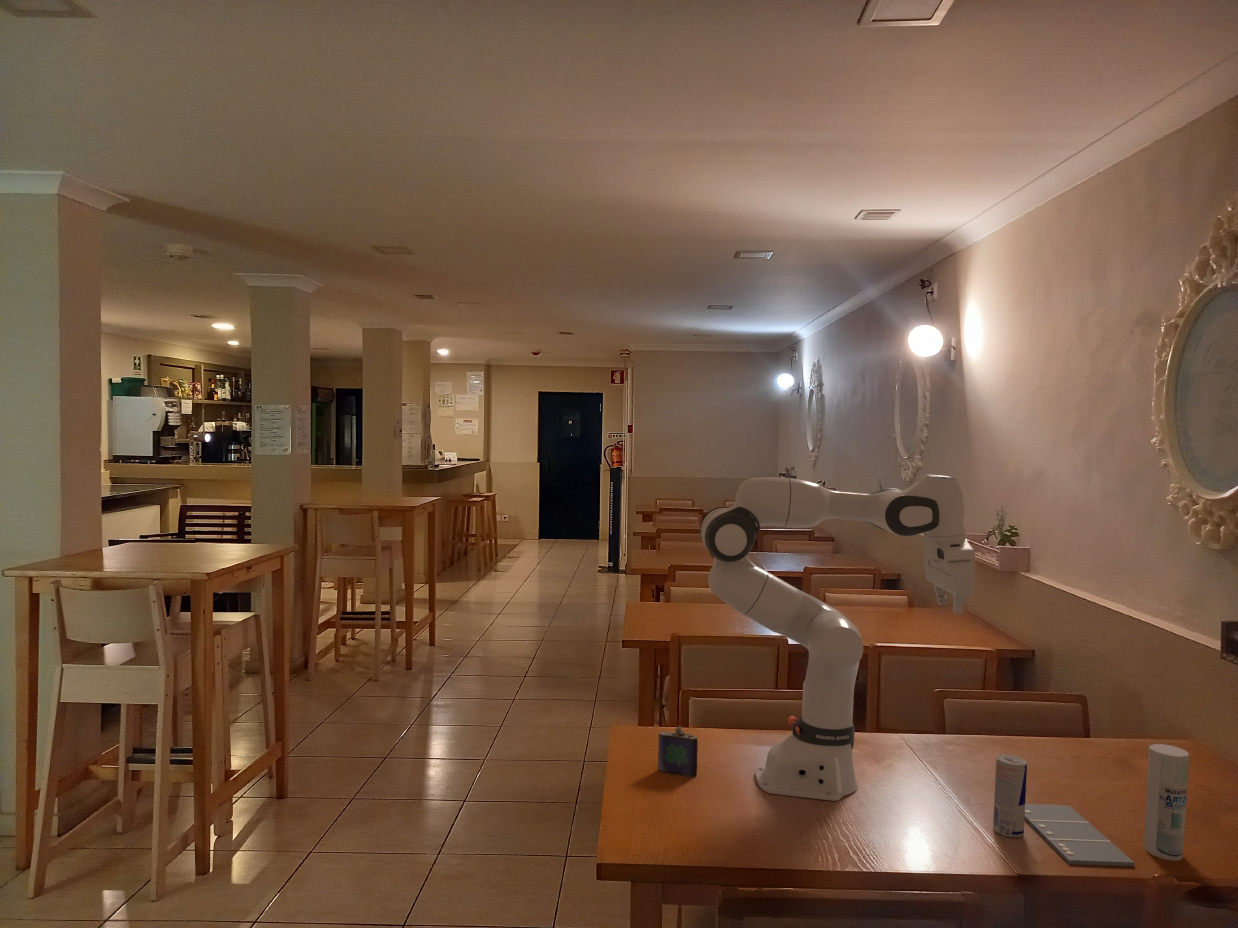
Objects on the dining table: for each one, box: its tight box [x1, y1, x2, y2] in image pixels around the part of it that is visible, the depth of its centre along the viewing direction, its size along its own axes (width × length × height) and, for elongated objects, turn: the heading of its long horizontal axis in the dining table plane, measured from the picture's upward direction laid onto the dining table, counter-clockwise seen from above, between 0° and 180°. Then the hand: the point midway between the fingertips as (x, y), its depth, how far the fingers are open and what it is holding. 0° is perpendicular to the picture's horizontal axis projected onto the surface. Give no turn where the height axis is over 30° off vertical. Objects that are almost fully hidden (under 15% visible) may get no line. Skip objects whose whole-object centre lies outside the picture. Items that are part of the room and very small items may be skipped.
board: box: [1024, 803, 1135, 868], centre depth 170 cm, size 12×24×1 cm, turn 179°
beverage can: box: [992, 753, 1028, 839], centre depth 170 cm, size 6×6×15 cm
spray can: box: [1144, 743, 1190, 861], centre depth 164 cm, size 6×6×20 cm
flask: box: [657, 725, 699, 778], centre depth 196 cm, size 9×3×11 cm, turn 71°
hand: (950, 608), depth 190 cm, fingers open, 8 cm apart
